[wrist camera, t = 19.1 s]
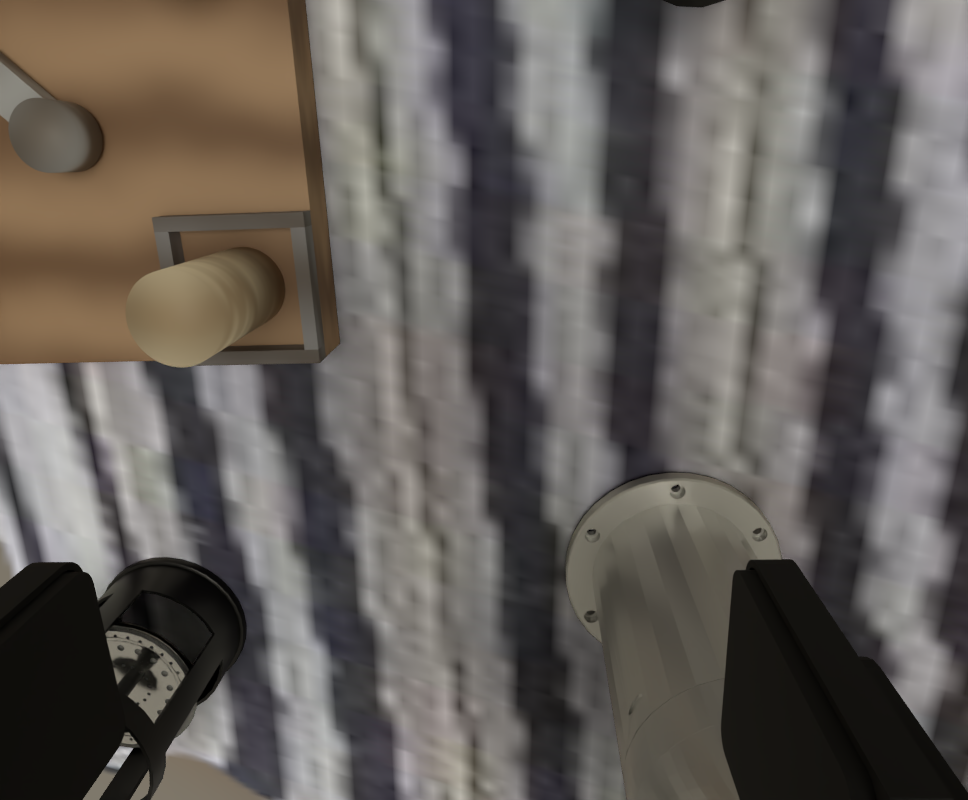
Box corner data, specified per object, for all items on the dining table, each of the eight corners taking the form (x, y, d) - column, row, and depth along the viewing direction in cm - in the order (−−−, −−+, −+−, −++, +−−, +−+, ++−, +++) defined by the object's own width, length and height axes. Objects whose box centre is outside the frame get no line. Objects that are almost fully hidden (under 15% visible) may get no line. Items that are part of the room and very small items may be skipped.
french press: (234, 547, 45) (-38, 909, 23) (272, 672, 48) (61, 1098, 26) (60, 569, 46) (-354, 932, 25) (107, 689, 49) (-226, 1110, 27)
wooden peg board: (340, 343, 41) (290, 391, 32) (-41, 352, 42) (-185, 400, 33) (292, -128, 34) (212, -226, 25) (-163, -98, 35) (-384, -181, 27)
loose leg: (290, 324, 37) (229, 366, 30) (214, 326, 38) (135, 368, 30) (280, 245, 36) (215, 268, 28) (201, 248, 36) (116, 271, 29)
